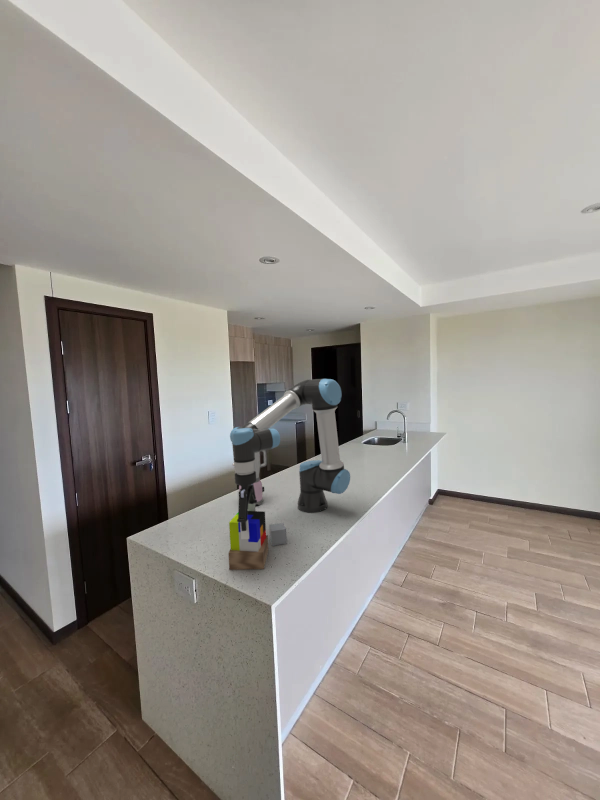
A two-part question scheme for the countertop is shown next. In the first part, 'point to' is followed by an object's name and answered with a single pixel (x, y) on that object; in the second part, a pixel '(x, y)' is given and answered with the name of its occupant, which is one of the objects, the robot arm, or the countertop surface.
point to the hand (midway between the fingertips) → (249, 529)
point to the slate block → (277, 534)
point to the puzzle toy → (255, 532)
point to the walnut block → (248, 558)
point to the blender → (258, 483)
